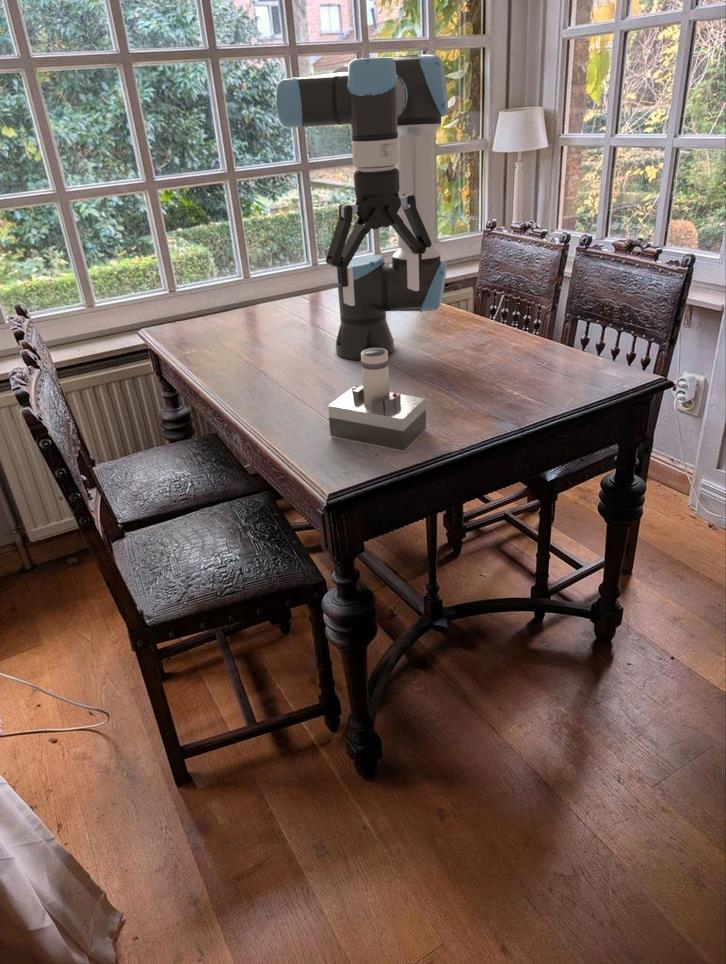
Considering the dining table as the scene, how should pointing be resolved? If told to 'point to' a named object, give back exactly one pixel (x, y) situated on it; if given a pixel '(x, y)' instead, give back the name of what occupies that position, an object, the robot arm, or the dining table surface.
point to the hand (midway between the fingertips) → (382, 296)
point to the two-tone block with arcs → (378, 420)
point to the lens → (375, 374)
